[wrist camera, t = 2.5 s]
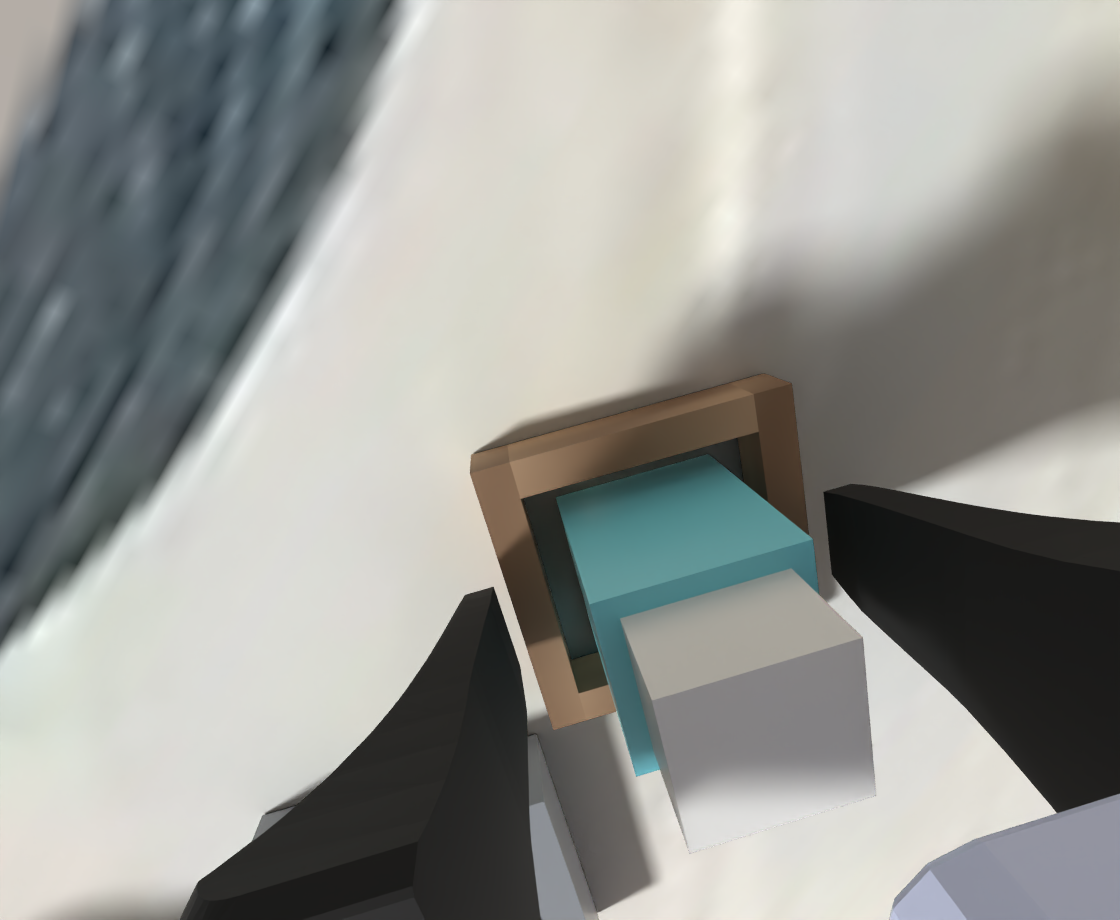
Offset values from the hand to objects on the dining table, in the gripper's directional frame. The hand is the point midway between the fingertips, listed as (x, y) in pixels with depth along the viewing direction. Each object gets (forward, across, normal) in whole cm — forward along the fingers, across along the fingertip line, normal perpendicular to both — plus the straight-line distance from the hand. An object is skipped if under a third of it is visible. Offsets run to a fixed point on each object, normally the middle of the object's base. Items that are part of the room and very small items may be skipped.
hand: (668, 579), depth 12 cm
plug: (+2, 0, 0) cm, 2 cm away
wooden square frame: (+2, 0, 0) cm, 2 cm away
